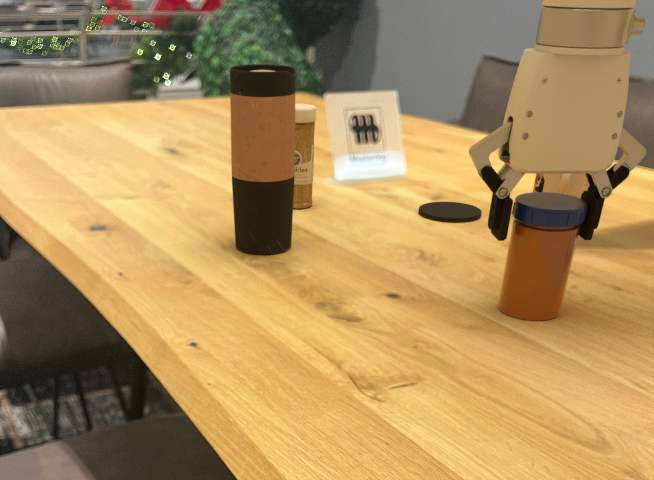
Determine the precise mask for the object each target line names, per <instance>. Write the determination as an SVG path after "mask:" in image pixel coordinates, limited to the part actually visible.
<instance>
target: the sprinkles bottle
mask: <svg viewBox="0 0 654 480" xmlns="http://www.w3.org/2000/svg"><path fill="white" fill-rule="evenodd" d="M316 121H317V106H316V105H314V104H310V103H295V175H294V198H293V209H307V208H310V207H311V206H312V205H313V203H314V202H313V201H314V200H313V183H314V166H315V164H314V163H315V131H316V130H315V129H316V128H315V127H316Z"/></svg>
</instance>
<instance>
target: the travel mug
mask: <svg viewBox="0 0 654 480" xmlns="http://www.w3.org/2000/svg"><path fill="white" fill-rule="evenodd" d="M296 77H297V69H296V68H295V67H293V66H290V65H284V64H268V63H267V64H265V63H264V64H260V63H259V64H258V63H257V64H255V63H254V64H238V65H233V66H230V69H229V92H230V93H229V95H230V96H229V100H230V105H229V106H230V149H231V150H230V152H231V153H230V155H231V156H230V157H231V158H230V160H231V163H230V165H231V188H232V207H233V222H234V223H233V225H234V240H235V241H234V242H235V247H236V249H237V251H240V252H243V253H246V254H249V255H257V256H266V255H268V254H270V255H277V253H278V254H282V253H285V252H287V251H289V250H290V249H291V247H292V237H293V236H292V234H293V219H294V217H293V216H294V208H293V198H294V175H295V104H296V84H297V83H296V82H297V81H296ZM281 252H282V253H281ZM268 256H269V255H268Z"/></svg>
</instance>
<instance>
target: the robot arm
mask: <svg viewBox="0 0 654 480" xmlns="http://www.w3.org/2000/svg"><path fill="white" fill-rule="evenodd" d="M636 1H637V0H542V2H541V5H542V6H541V9H540V14H539V22H538V25H537V31H536V36H535V43H534V47H531V48H530V47H529V48H524V50H523V52H522V56H521V58H520V61H519V64H518V66H517V70H516V72H515V76H514V80H513V84H512V86H511V90H510V94H509V97H508V102H507V106H506V109H505V113H504V118H503V122H502V125H501V126H499V127H498V128H496V129H495V130H493V131H491V133H489V134H487V135H486V136H485V137H483V138H481V139H480V140H478V141H477V142H476V143H474V144H472V145H471V146H470V147H469V149H468V155H469V157H470V159H471V161H472V163H473V165H474V168H475V169H476V171H477V174H478V176H479V177H480V179H481V180H482V181H483V183H485V185H486V186H487V187H488V189H489V191H491V192H492V195H491V199H490V205H489V213H488V218H487V228H488V229H489V230H490V233H491V235H492V236H493V237H494V238H495V239H496V240H497V241H498V242H504V241H505V240H507V238H508V234H509V228H510V222H511V217H512V210H513V205H514V199H512V198H511V192H513V190H514V189H515V187H516V186H517V185H518V184H519V182H520V181H521V180H522V179H523V177H524V175H526V174H536V173H540V174H563V173H584V175H585V178H586V181H587V183H588V186H589V187H588V190H587V191H584V192H583V193H582V195H581V199H583V200H584V201H586V202H587V212H586V216H585V220H584V221H583V223H581V224H580V230H579V234H578V237H580V238H582V239H583V240H584V241H591V240H592V239H593V236H594V232H595V230H597V228H598V227H599V224H600V220H601V216H602V212H603V208H604V205H605V204H604V203H605V200H606V199H607V198H609V197H611V196H612V194H613V190H615V189H616V188H617V187H618V186H619V185H621V184H622V183H623V182H624V181H625V180H626V179H628V177H629V176H630V174H631V172H632V171H633V170H634V169H635V168H636V167H637V166H638V165H639V163H640V162H641V161H642V160H643V159H644V158H645V157H646V156H647V148H646V147H644V145H642V144H641V143H640V142H639V141H638V140H637V138H635V137H634V136H633V135H632V134H631V133H630V132H628V131H627V130H626V128H625V127H624V120H625V114H626V109H627V102H628V94H629V93H628V92H629V83H630V71H631V70H630V69H631V68H630V67H631V52H630V51H627V50H625V46H626V45H628V44H629V40H630V38H632V37H634V36H641V35H642V34H643V32H644V30H645V27H646V18H645V17H644V16H642V17H641V16H637V15H636V11H637V10H636V9H635V6H636ZM618 149H620V150H621V151H622V155H621V157H620V158H619V159H618V161H617V163H614V161H615V159H616V156H617V152H618ZM496 150H497V157H498V159H499V160H500V161H501V162H503V163H504V164H503V165H502V166H501V168H500V169H499V170H498V171H496V170H495V169H494V167H493V165H492V163H491V160H490V155H491V154H492V153H493V152H495V151H496ZM613 163H614V164H613Z"/></svg>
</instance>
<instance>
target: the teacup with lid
mask: <svg viewBox="0 0 654 480" xmlns="http://www.w3.org/2000/svg"><path fill="white" fill-rule="evenodd" d="M588 187H589V186H588V183H587V181H586V178H585V175H584V173H563V174H540V173H535V178H534V183H533V189H532V192H549V193H559V194H566V195H571V196H575V197H578V198H580V199H581V195H582V193H583V192H584V191H587V190H588Z"/></svg>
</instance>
